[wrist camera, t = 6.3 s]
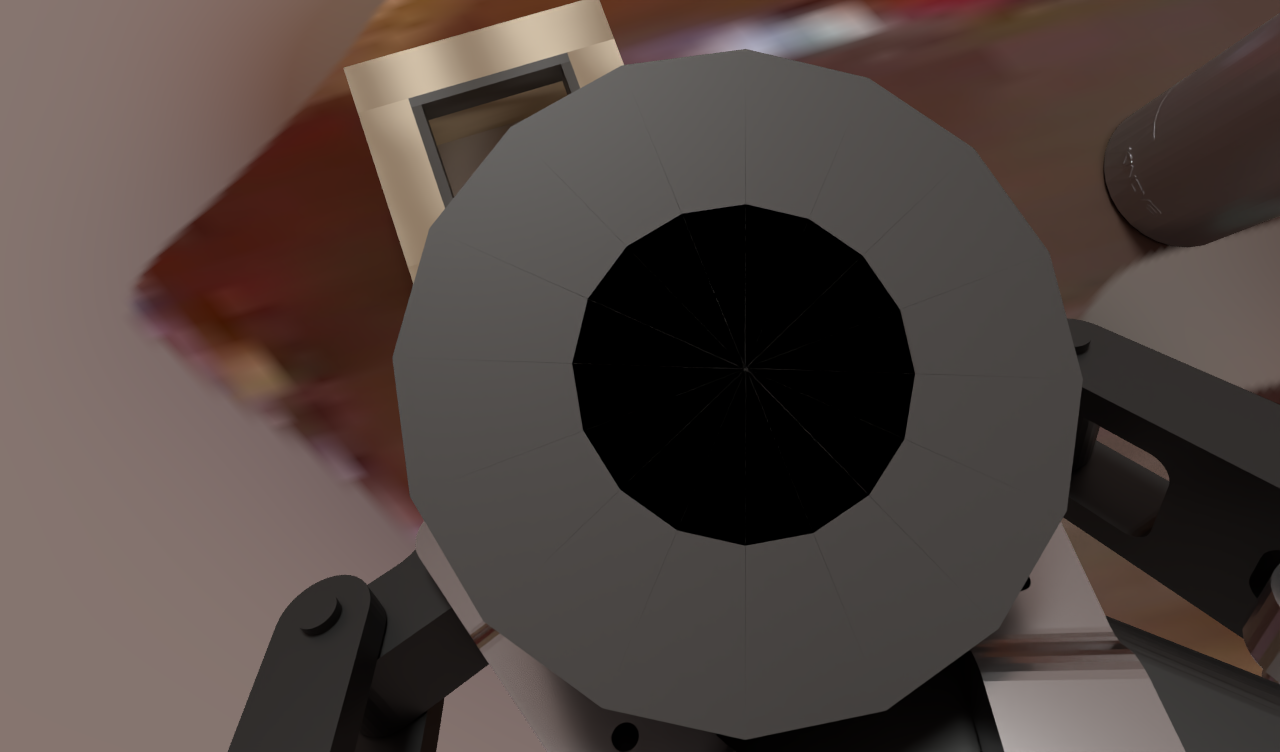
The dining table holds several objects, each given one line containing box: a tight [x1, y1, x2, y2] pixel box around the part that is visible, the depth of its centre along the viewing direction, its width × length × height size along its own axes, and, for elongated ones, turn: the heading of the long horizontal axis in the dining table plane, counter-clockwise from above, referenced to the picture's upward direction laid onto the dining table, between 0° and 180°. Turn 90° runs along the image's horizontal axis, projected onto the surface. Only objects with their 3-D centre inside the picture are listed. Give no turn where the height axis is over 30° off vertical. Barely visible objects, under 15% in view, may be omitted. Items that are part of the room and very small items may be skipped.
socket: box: [344, 0, 624, 284], centre depth 37 cm, size 14×18×6 cm
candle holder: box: [393, 49, 1083, 740], centre depth 18 cm, size 6×6×25 cm
